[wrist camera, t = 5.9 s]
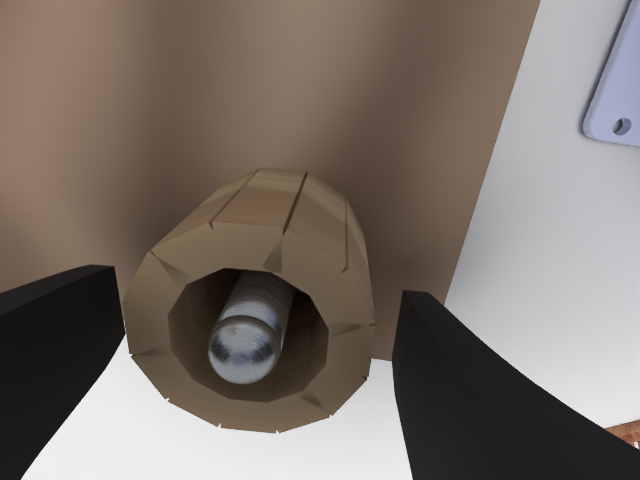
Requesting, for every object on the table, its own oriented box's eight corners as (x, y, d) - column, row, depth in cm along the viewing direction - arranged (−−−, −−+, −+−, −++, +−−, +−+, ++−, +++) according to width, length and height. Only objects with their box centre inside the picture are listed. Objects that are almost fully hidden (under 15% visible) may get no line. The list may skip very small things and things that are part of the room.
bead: (372, 176, 12) (389, 236, 8) (353, 324, 14) (358, 441, 10) (196, 161, 12) (107, 212, 8) (204, 310, 14) (139, 419, 10)
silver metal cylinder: (306, 231, 13) (279, 345, 7) (300, 272, 14) (271, 406, 8) (259, 223, 13) (197, 332, 7) (256, 265, 14) (195, 394, 8)
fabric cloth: (599, -268, 9) (645, -329, 8) (417, 341, 16) (424, 366, 15) (-151, -388, 9) (-239, -470, 8) (-7, 276, 16) (-39, 294, 15)
